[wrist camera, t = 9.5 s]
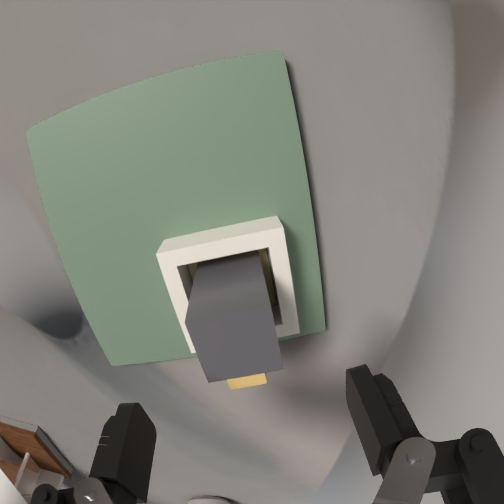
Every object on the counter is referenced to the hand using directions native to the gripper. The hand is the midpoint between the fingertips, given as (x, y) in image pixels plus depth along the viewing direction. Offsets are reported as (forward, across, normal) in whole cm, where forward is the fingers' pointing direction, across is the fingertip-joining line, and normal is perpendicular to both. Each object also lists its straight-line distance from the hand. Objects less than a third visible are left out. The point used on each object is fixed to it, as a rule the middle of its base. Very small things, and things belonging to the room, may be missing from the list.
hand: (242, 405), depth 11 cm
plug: (+11, 0, +1) cm, 11 cm away
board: (+12, +3, -4) cm, 13 cm away
